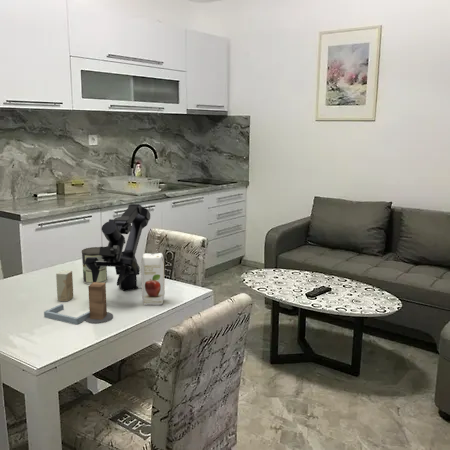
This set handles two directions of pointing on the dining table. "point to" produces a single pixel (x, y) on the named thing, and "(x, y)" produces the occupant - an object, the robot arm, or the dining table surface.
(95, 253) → the coffee can
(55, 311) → the grey u-frame
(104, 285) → the walnut block
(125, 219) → the robot arm
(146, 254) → the juice carton
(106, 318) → the coaster
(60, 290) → the box
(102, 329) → the dining table surface
